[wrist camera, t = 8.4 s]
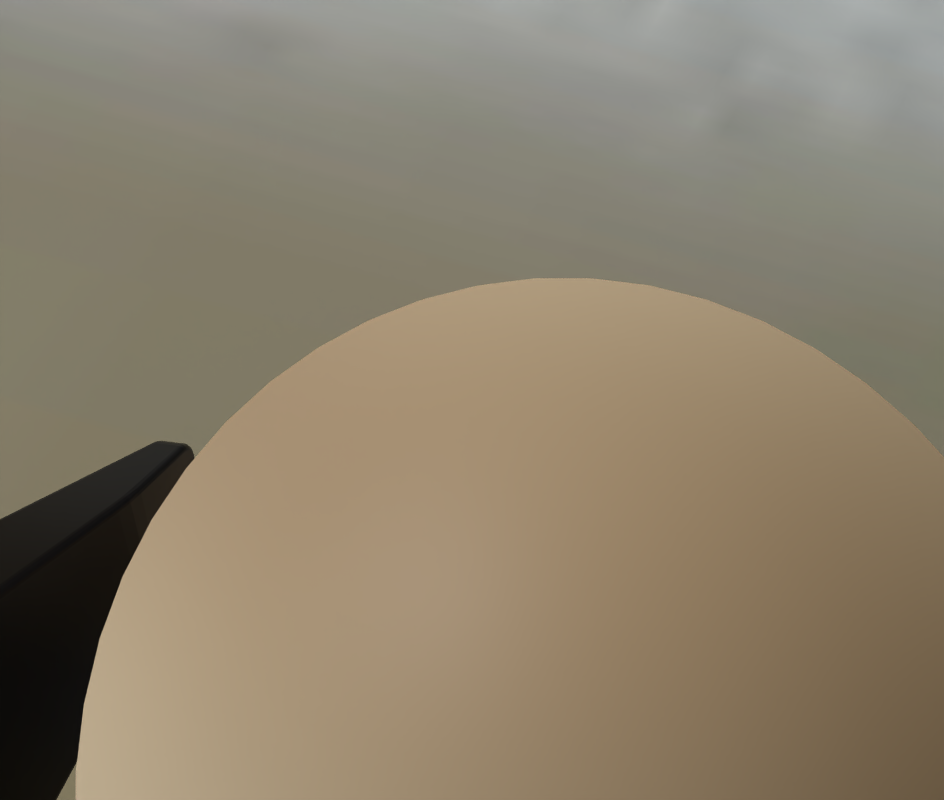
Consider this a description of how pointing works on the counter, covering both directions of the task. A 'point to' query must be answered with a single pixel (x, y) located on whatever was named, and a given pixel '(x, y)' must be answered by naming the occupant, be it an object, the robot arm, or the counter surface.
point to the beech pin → (537, 571)
